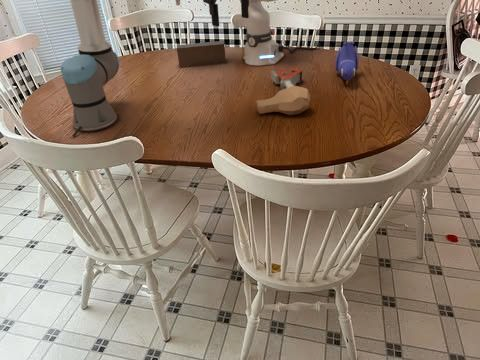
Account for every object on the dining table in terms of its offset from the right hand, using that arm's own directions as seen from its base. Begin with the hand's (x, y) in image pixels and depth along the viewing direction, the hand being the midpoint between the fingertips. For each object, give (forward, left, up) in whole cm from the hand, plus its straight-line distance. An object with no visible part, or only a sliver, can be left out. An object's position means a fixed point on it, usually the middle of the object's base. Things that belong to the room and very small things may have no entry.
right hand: (178, 3), depth 165 cm
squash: (+23, +71, -29) cm, 80 cm away
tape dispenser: (+1, +60, -29) cm, 66 cm away
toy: (-19, +77, -29) cm, 85 cm away
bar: (-5, +6, -29) cm, 30 cm away
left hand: (+28, +53, +2) cm, 59 cm away
